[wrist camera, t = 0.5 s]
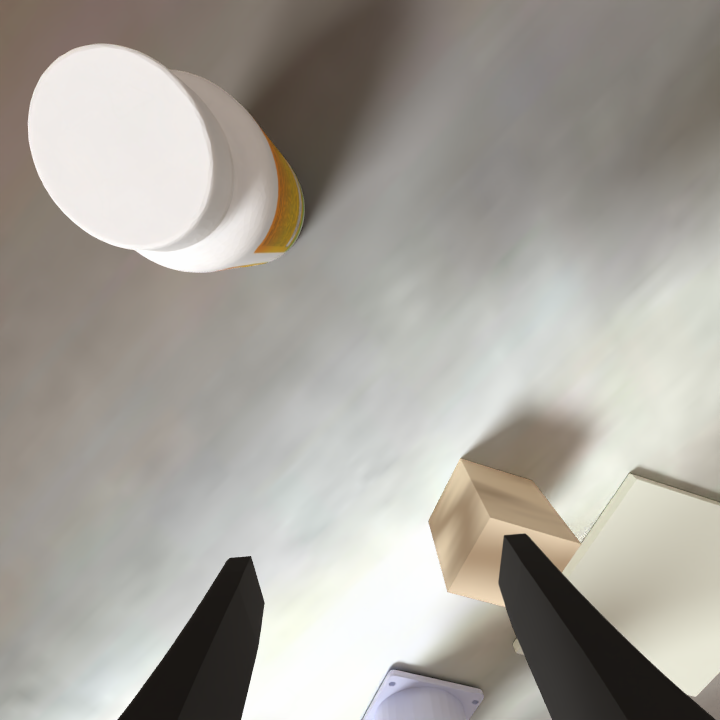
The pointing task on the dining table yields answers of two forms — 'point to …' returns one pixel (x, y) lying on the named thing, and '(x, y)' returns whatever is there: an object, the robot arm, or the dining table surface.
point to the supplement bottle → (161, 162)
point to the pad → (657, 577)
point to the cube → (492, 528)
